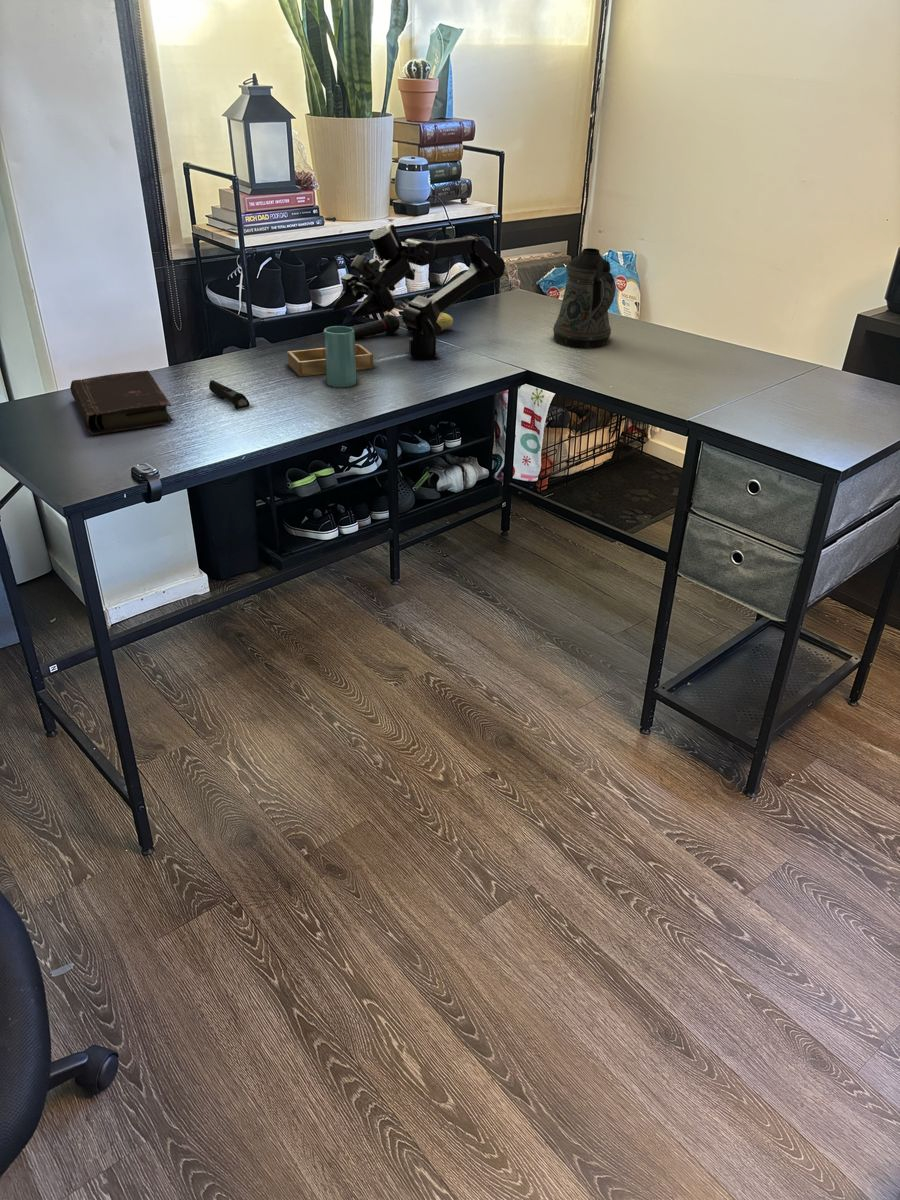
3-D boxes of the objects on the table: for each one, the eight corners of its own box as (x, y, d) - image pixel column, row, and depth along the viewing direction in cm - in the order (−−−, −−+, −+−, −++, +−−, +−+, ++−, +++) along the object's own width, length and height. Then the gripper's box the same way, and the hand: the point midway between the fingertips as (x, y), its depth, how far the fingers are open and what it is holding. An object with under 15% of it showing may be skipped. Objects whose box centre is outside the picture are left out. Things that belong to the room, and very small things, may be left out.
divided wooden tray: (360, 357, 239) (359, 343, 237) (373, 368, 231) (373, 354, 229) (288, 365, 232) (287, 351, 230) (299, 376, 224) (298, 362, 222)
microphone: (341, 353, 252) (402, 335, 260) (341, 335, 247) (403, 318, 255) (333, 342, 255) (393, 325, 262) (332, 325, 250) (393, 308, 258)
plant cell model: (461, 324, 260) (420, 310, 251) (449, 347, 263) (408, 335, 254) (445, 307, 267) (404, 293, 257) (434, 331, 270) (393, 318, 261)
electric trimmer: (220, 390, 214) (218, 377, 212) (251, 407, 204) (249, 393, 202) (206, 393, 212) (204, 380, 210) (236, 410, 202) (235, 397, 200)
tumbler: (354, 377, 224) (352, 325, 217) (357, 386, 218) (355, 333, 211) (325, 378, 222) (322, 326, 216) (328, 388, 216) (325, 334, 210)
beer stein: (570, 329, 266) (577, 241, 253) (628, 341, 257) (639, 250, 244) (541, 341, 255) (548, 249, 242) (602, 354, 245) (612, 259, 232)
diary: (88, 436, 187) (83, 413, 184) (72, 400, 205) (68, 379, 203) (177, 423, 194) (174, 401, 191) (154, 390, 213) (151, 369, 210)
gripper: (354, 240, 224) (309, 278, 221) (395, 253, 211) (347, 292, 208) (373, 278, 232) (329, 315, 229) (414, 292, 219) (368, 331, 216)
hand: (343, 312), depth 220 cm, fingers open, 9 cm apart
